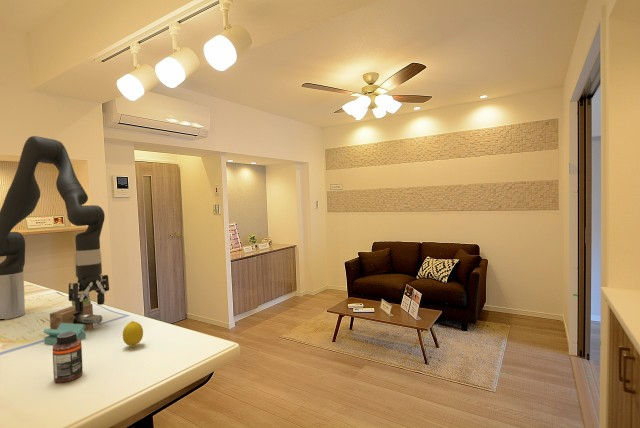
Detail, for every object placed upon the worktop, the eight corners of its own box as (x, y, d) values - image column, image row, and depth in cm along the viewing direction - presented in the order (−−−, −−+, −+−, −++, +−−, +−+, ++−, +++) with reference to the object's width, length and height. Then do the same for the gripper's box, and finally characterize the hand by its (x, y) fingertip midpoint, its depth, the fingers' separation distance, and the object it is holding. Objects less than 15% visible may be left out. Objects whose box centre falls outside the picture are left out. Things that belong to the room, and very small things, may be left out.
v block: (43, 344, 106) (42, 329, 106) (63, 335, 113) (63, 322, 113) (67, 346, 105) (66, 331, 104) (86, 337, 111) (85, 323, 111)
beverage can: (95, 310, 139) (94, 281, 139) (81, 316, 132) (80, 286, 132) (81, 310, 140) (80, 281, 140) (66, 316, 133) (65, 286, 132)
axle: (61, 322, 119) (62, 313, 120) (68, 321, 122) (70, 312, 123) (94, 324, 117) (96, 315, 117) (101, 323, 120) (103, 314, 120)
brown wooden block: (50, 333, 115) (49, 313, 114) (81, 321, 127) (80, 303, 126) (76, 336, 113) (75, 315, 113) (105, 323, 125) (105, 304, 124)
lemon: (147, 344, 106) (146, 319, 106) (132, 351, 101) (131, 325, 100) (134, 342, 108) (133, 317, 107) (118, 349, 102) (117, 323, 102)
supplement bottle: (64, 372, 89) (62, 329, 88) (87, 371, 89) (86, 328, 89) (47, 384, 83) (46, 339, 82) (73, 383, 83) (71, 338, 83)
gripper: (96, 258, 126) (98, 301, 126) (60, 266, 112) (62, 314, 112) (114, 259, 124) (115, 302, 125) (79, 266, 110) (81, 315, 111)
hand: (90, 308), depth 118 cm, fingers open, 8 cm apart
